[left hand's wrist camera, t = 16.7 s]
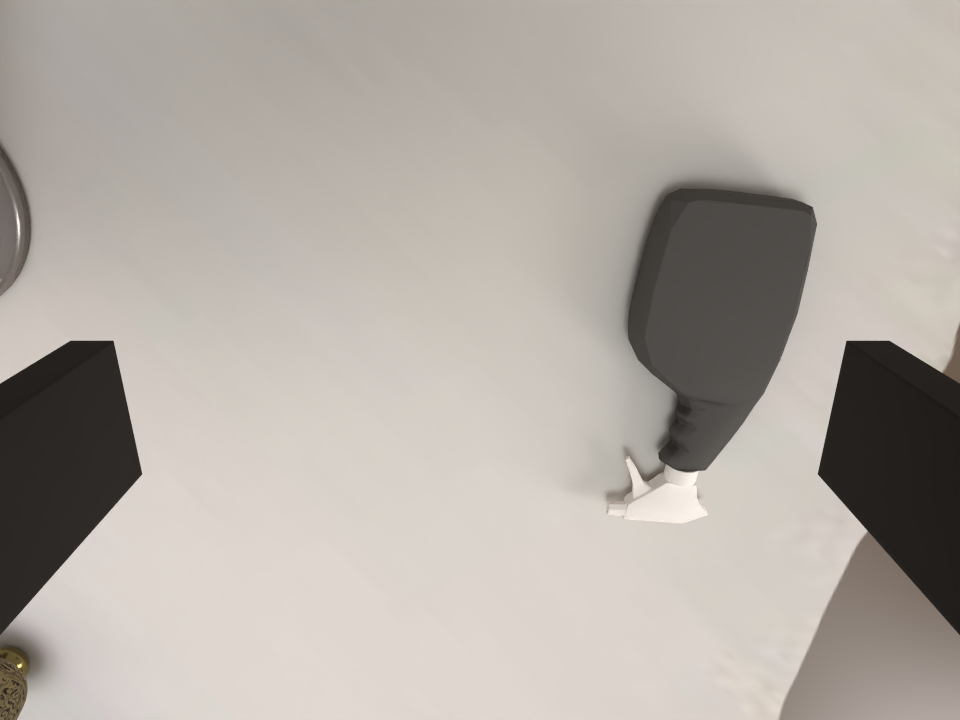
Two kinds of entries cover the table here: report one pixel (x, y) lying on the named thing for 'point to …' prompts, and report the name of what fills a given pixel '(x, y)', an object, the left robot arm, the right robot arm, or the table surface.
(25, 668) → the cup
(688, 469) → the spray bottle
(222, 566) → the table surface
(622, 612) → the table surface
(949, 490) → the left robot arm
